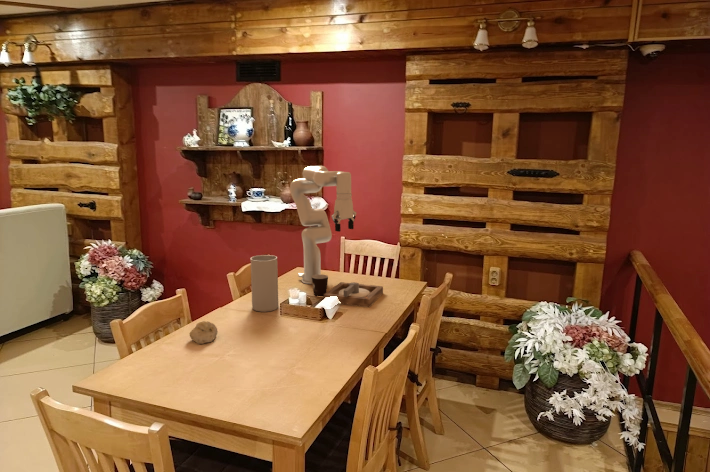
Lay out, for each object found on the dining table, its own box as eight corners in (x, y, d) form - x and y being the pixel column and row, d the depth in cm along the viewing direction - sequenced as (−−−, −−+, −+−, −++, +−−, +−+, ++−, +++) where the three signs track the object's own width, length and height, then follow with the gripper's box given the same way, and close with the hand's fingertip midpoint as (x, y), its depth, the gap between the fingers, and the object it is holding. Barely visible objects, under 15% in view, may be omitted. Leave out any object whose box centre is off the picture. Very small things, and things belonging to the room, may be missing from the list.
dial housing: (323, 302, 253) (323, 294, 253) (340, 289, 276) (340, 281, 275) (369, 307, 245) (369, 299, 245) (382, 293, 268) (383, 285, 267)
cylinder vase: (246, 309, 242) (244, 259, 237) (263, 302, 252) (261, 254, 248) (267, 314, 236) (266, 262, 231) (283, 306, 247) (282, 256, 242)
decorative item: (193, 324, 211) (214, 315, 210) (201, 343, 212) (223, 334, 211) (181, 331, 199) (203, 321, 198) (190, 351, 199) (213, 341, 199)
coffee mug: (327, 297, 261) (327, 278, 259) (311, 297, 261) (310, 278, 259) (329, 290, 272) (329, 273, 271) (313, 290, 273) (313, 272, 271)
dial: (345, 288, 270) (345, 278, 269) (373, 291, 265) (373, 281, 264) (330, 300, 251) (330, 289, 250) (360, 303, 246) (360, 292, 244)
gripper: (350, 195, 263) (350, 227, 266) (326, 197, 250) (327, 231, 253) (360, 195, 258) (361, 228, 261) (337, 198, 245) (337, 233, 248)
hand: (344, 230), depth 257 cm, fingers open, 9 cm apart
